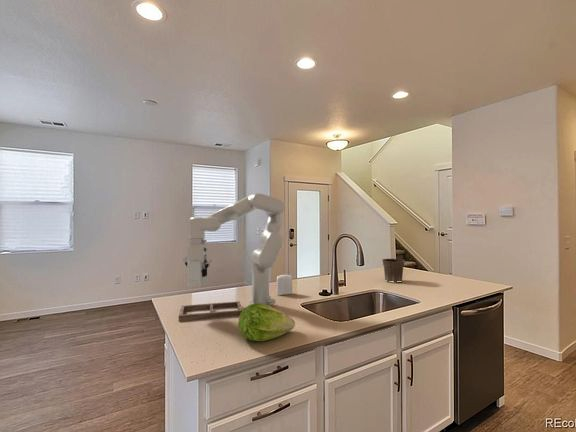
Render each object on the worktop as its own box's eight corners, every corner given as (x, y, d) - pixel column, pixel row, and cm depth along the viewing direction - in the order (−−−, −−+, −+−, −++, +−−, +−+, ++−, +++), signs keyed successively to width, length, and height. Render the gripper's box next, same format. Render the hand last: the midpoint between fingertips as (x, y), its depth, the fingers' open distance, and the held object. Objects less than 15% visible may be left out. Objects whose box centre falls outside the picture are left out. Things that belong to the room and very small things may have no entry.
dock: (242, 315, 149) (242, 310, 148) (178, 321, 141) (178, 316, 141) (239, 305, 164) (239, 301, 164) (181, 310, 156) (181, 305, 156)
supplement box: (200, 286, 146) (200, 261, 146) (187, 286, 147) (186, 260, 147) (207, 283, 153) (207, 258, 153) (194, 282, 155) (194, 258, 154)
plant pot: (383, 283, 217) (383, 261, 217) (380, 278, 233) (380, 258, 233) (407, 284, 214) (407, 262, 214) (402, 279, 230) (402, 258, 230)
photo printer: (277, 295, 184) (277, 276, 184) (275, 294, 188) (275, 274, 188) (293, 294, 187) (293, 275, 187) (291, 292, 191) (291, 273, 191)
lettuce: (279, 336, 135) (294, 355, 121) (231, 326, 125) (241, 346, 111) (291, 306, 136) (307, 322, 122) (244, 293, 125) (255, 309, 111)
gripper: (215, 241, 151) (216, 275, 151) (187, 240, 156) (188, 273, 157) (207, 242, 143) (207, 278, 144) (178, 241, 149) (178, 276, 150)
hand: (197, 275), depth 150 cm, fingers closed on supplement box, 8 cm apart
